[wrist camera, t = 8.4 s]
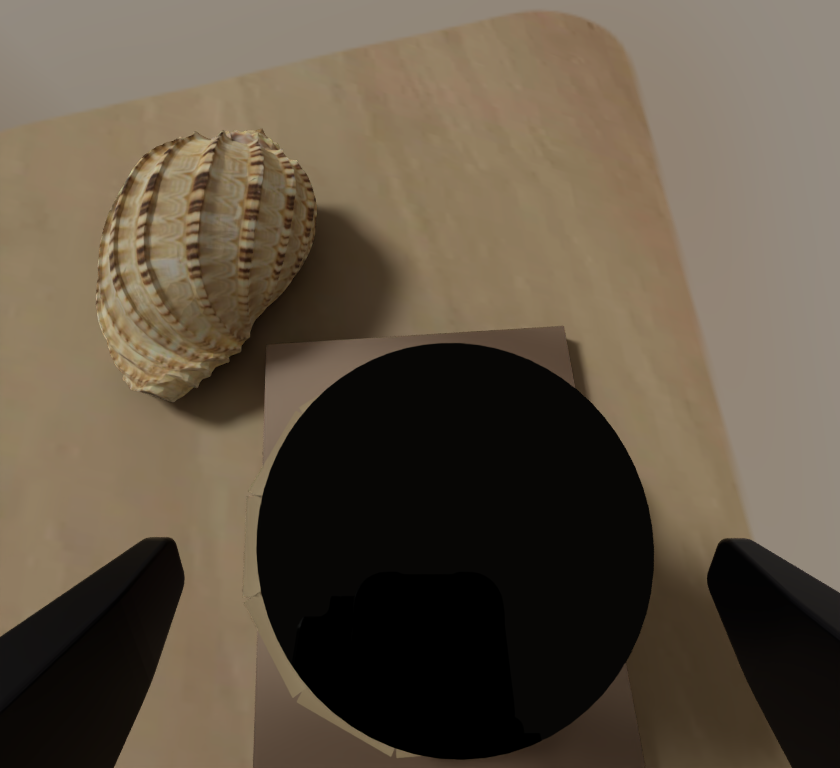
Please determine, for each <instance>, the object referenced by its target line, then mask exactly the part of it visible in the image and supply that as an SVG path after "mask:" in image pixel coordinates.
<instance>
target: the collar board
mask: <svg viewBox="0 0 840 768" xmlns="http://www.w3.org/2000/svg"><path fill="white" fill-rule="evenodd" d="M436 343H465V344H475V345H482V346H487V347H492V348H496V349H500V350H503V351H507V352H510V353H513V354H516V355H518V356H521V357H524V358H526V359H529V360H531V361H533V362H535V363H537V364H539V365H541V366H543V367H545V368H547V369H548V370H550V371H551V372H553V373H555V374H556V375H558V376H559V377H561V378H562V379H564V380H565V381H566V382H568V383H569V384H570V385H572V386H573V387H574V388H575V384H574V378H573V373H572V367H571V362H570V357H569V351H568V346H567V340H566V335H565V330H564V326H555V327H539V328H523V329H507V330H491V331H475V332H459V333H443V334H427V335H411V336H395V337H379V338H363V339H347V340H331V341H315V342H299V343H283V344H267V345H266V373H265V404H264V436H263V467H262V468H261V470H260V472H259V474H258V475H257V477H256V479H255V480H254V482H253V484H252V485H251V487H250V489H249V490H248V492H250V493H252V494H254V495H255V496H247V498H246V522H245V546H244V570H243V594H242V598H243V597H251V598H250V599H248V600H247V601H245V602H244V605H245V607H246V609H247V611H248V613H249V614H250V616H251V618H252V620H253V622H254V624H255V626H256V628H257V658H256V690H255V722H254V754H253V768H645V762H644V757H643V752H642V746H641V741H640V735H639V730H638V725H637V719H636V714H635V708H634V703H633V698H632V692H631V687H630V681H629V676H628V670H627V665H626V663H625V664H624V666H623V668H622V669H621V671H620V673H619V674H618V676H617V677H616V678H615V680H614V681H613V682H612V684H611V685H610V686H609V687H608V689H607V690H606V691H605V693H604V694H603V695H602V696H601V697H600V698H599V699H598V700H597V701H596V702H595V703H594V704H593V705H592V706H591V707H590V708H589V709H588V710H587V711H586V712H585V713H583V714H582V715H581V716H580V717H579V718H577V719H576V720H575V721H574V722H572V723H571V724H570V725H568V726H567V727H565V728H563V729H562V730H560V731H559V732H557V733H556V734H554V735H552V736H551V737H549V738H546V739H544V740H542V741H540V742H538V743H536V744H534V745H532V746H529V747H526V748H523V749H520V750H517V751H514V752H511V753H508V754H503V755H498V756H494V757H489V758H480V759H467V760H456V759H438V758H432V757H426V756H420V755H415V754H412V753H409V752H405V751H402V750H399V749H395V748H392V747H390V746H388V745H386V744H383V743H381V742H379V741H376V740H374V739H372V738H370V737H368V736H367V735H365V734H363V733H362V732H360V731H358V730H356V729H355V728H353V727H351V726H350V725H349V724H347V723H346V722H345V721H343V720H342V719H341V718H339V717H338V716H337V715H335V714H334V713H333V712H332V711H331V710H330V709H328V708H327V707H326V706H325V705H324V704H323V703H322V702H321V701H320V700H319V699H318V698H317V697H316V696H315V695H314V694H313V693H312V692H311V690H310V689H309V688H308V687H307V686H306V684H305V683H304V682H303V681H302V680H301V679H300V677H299V676H298V674H297V673H296V671H295V670H294V668H293V667H292V665H291V664H290V662H289V661H288V659H287V657H286V656H285V654H284V652H283V650H282V648H281V646H280V644H279V642H278V640H277V638H276V636H275V633H274V631H273V628H272V626H271V624H270V621H269V619H268V615H267V612H266V608H265V605H264V601H263V598H262V594H261V588H260V582H259V577H258V568H257V555H256V544H257V525H258V517H259V509H260V504H261V500H262V495H263V491H264V487H265V484H266V481H267V478H268V475H269V472H270V469H271V467H272V465H273V462H274V460H275V458H276V456H277V453H278V451H279V449H280V447H281V446H282V444H283V442H284V440H285V439H286V437H287V435H288V433H289V432H290V430H291V429H292V428H293V426H294V425H295V423H296V422H297V420H298V419H299V418H300V416H301V415H302V414H303V413H304V412H305V411H306V409H307V408H308V407H309V406H310V405H311V403H312V402H313V401H315V400H316V399H317V398H318V397H319V396H320V395H321V394H322V393H323V392H324V391H325V390H326V389H327V388H329V387H330V386H331V385H332V384H334V383H335V382H336V381H337V380H339V379H340V378H341V377H343V376H344V375H346V374H348V373H349V372H351V371H352V370H354V369H355V368H357V367H359V366H361V365H363V364H365V363H367V362H369V361H371V360H373V359H375V358H378V357H380V356H383V355H385V354H388V353H391V352H394V351H398V350H401V349H404V348H409V347H414V346H419V345H425V344H436Z"/></svg>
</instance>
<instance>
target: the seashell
mask: <svg viewBox="0 0 840 768" xmlns="http://www.w3.org/2000/svg"><path fill="white" fill-rule="evenodd" d="M316 217H317V206H316V199H315V195H314V192H313V189H312V185H311V183H310V181H309V178H308V176H307V174H306V173H305V171H304V170H303V169H302V168H301V166H300V165H299V164H298V160H289V159H288V158H287V157H286V156H285V155H284V153H283V149H280V147H279V145H278V143H273V141H272V140H271V138H268V137H266V135H265V133H264V131H263V129H259V130H256V131H248V130H246V131H245V132H239V131H237V130H234V131H233V132H231V133H230V132H228V131H226V132H225V131H224V130H222V131H221V133H220V134H219V135H218V136H216V137H214V138H212V139H208V138H206V137H204V136H202V135H200V134H199V133H198V132H196V131H195V132H194V133H193V134H192V135H191V136H189V137H186V138H183V137H179V138H178V139H176V140H174V141H171V142H166V143H164V144H163V145H160V146H157V147H155V148H154V149H152V150H151V151H149V152H148V153H147V154H145V155H144V156H143V157H142V158H141V159H140V161H139V162H138V163H137V164H136V166H135V167H134V168H133V170H132V171H131V173H130V175H129V176H128V178H127V180H126V182H125V184H124V186H123V187H122V189H121V190H120V192H119V193H118V195H117V197H116V199H115V201H114V203H113V205H112V207H111V209H110V212H109V214H108V217H107V220H106V223H105V226H104V229H103V233H102V238H101V243H100V249H99V259H98V280H97V290H96V308H97V315H98V321H99V324H100V327H101V330H102V333H103V335H104V337H105V338H106V340H107V344H108V348H109V351H110V354H111V356H112V358H113V361H114V364H115V365H116V367H117V368H118V369H119V370H120V371H121V372H122V373H123V380H124V381H125V382H126V383H127V384H128V386H129V388H130V389H131V390H135V391H139V392H142V393H145V394H149V395H152V396H155V397H158V398H161V399H164V400H167V401H170V402H175V401H176V400H177V399H179V398H181V397H183V396H184V395H185V394H187V393H188V392H189V391H190V390H191V389H192V388H198V386H199V383H200V382H201V380H202V379H204V378H208V377H210V376H211V373H212V371H213V370H214V369H215V367H217V366H220V365H222V364H225V363H228V362H229V357H230V356H231V355H234V354H237V353H240V352H241V347H242V345H243V343H244V342H245V341H246V340H247V339H249V338H250V331H251V329H252V326H253V324H254V322H255V320H256V319H257V318H258V317H259V316H260V315H261V314H262V313H263V312H264V311H265V309H266V308H267V307H268V306H269V305H270V304H271V303H273V302H274V301H275V300H276V299H277V298H278V297H279V296H280V295H281V294H282V293H283V292H284V290H285V289H286V288H287V287H288V285H289V284H290V283H291V281H292V279H293V278H294V277H295V275H296V274H297V273H298V272H299V270H300V269H301V267H302V265H303V264H304V262H305V260H306V258H307V256H308V254H309V252H310V250H311V247H312V244H313V242H314V237H315V228H316Z"/></svg>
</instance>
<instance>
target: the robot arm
mask: <svg viewBox="0 0 840 768" xmlns="http://www.w3.org/2000/svg"><path fill="white" fill-rule="evenodd" d="M707 584H708V588H709V591H710V593H711V596H712V598H713V601H714V603H715V606H716V608H717V610H718V613H719V615H720V618H721V620H722V622H723V625H724V627H725V630H726V632H727V635H728V637H729V639H730V642H731V644H732V647H733V649H734V652H735V654H736V656H737V659H738V661H739V664H740V666H741V668H742V671H743V673H744V675H745V677H746V680H747V682H748V684H749V686H750V688H751V690H752V692H753V694H754V696H755V698H756V700H757V702H758V704H759V706H760V708H761V710H762V711H763V713H764V715H765V717H766V719H767V721H768V723H769V725H770V727H771V729H772V731H773V732H774V734H775V736H776V738H777V740H778V742H779V744H780V746H781V748H782V750H783V751H784V753H785V755H786V757H787V759H788V761H789V763H790V765H791V767H792V768H840V593H839V592H837V591H836V590H834V589H832V588H831V587H829V586H827V585H826V584H824V583H822V582H821V581H819V580H817V579H816V578H814V577H812V576H811V575H809V574H807V573H806V572H804V571H802V570H801V569H799V568H797V567H796V566H794V565H792V564H791V563H789V562H787V561H786V560H784V559H782V558H781V557H779V556H777V555H776V554H774V553H772V552H771V551H769V550H767V549H765V548H764V547H762V546H761V545H759V544H757V543H756V542H754V541H752V540H750V539H745V538H726V539H723V540H721V541H720V542H719V544H718V546H717V548H716V551H715V554H714V557H713V560H712V562H711V565H710V568H709V571H708V574H707ZM183 587H184V571H183V567H182V563H181V560H180V556H179V552H178V549H177V545H176V543H175V541H174V540H173V539H172V538H169V537H150V538H146V539H144V540H142V541H140V542H139V543H137V544H136V545H134V546H133V547H131V548H130V549H128V550H127V551H125V552H124V553H123V554H121V555H120V556H118V557H117V558H115V559H114V560H112V561H111V562H109V563H108V564H106V565H105V566H103V567H102V568H101V569H99V570H98V571H96V572H95V573H93V574H92V575H90V576H89V577H87V578H86V579H84V580H83V581H81V582H80V583H79V584H77V585H76V586H74V587H73V588H71V589H70V590H68V591H67V592H65V593H64V594H62V595H61V596H59V597H58V598H57V599H55V600H54V601H52V602H51V603H49V604H48V605H46V606H45V607H43V608H42V609H40V610H39V611H37V612H36V613H35V614H33V615H32V616H30V617H29V618H27V619H26V620H24V621H23V622H21V623H20V624H18V625H17V626H15V627H14V628H13V629H11V630H10V631H8V632H7V633H5V634H4V635H2V636H1V637H0V768H114V766H115V764H116V762H117V759H118V757H119V755H120V753H121V750H122V748H123V746H124V744H125V741H126V739H127V737H128V735H129V732H130V730H131V728H132V726H133V724H134V721H135V719H136V717H137V715H138V712H139V710H140V708H141V706H142V703H143V701H144V699H145V696H146V694H147V692H148V689H149V687H150V685H151V682H152V679H153V676H154V674H155V671H156V668H157V665H158V662H159V659H160V656H161V653H162V650H163V647H164V644H165V641H166V638H167V635H168V632H169V629H170V626H171V623H172V620H173V617H174V614H175V611H176V608H177V605H178V602H179V599H180V596H181V593H182V590H183Z"/></svg>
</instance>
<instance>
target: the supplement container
mask: <svg viewBox="0 0 840 768" xmlns="http://www.w3.org/2000/svg"><path fill="white" fill-rule="evenodd" d="M256 555H257V568H258V577H259V582H260V588H261V594H262V598H263V601H264V605H265V608H266V612H267V615H268V619H269V621H270V624H271V626H272V628H273V631H274V633H275V636H276V638H277V640H278V642H279V644H280V646H281V648H282V650H283V652H284V654H285V656H286V657H287V659H288V661H289V662H290V664H291V665H292V667H293V668H294V670H295V671H296V673H297V674H298V676H299V677H300V679H301V680H302V681H303V682H304V683H305V684H306V686H307V687H308V688H309V689H310V690H311V692H312V693H313V694H314V695H315V696H316V697H317V698H318V699H319V700H320V701H321V702H322V703H323V704H324V705H325V706H326V707H327V708H328V709H330V710H331V711H332V712H333V713H334V714H335V715H337V716H338V717H339V718H341V719H342V720H343V721H345V722H346V723H347V724H349V725H350V726H351V727H353V728H355V729H356V730H358V731H360V732H362V733H363V734H365V735H367V736H368V737H370V738H372V739H374V740H376V741H379V742H381V743H383V744H386V745H388V746H390V747H392V748H395V749H399V750H402V751H405V752H409V753H412V754H415V755H420V756H426V757H432V758H438V759H456V760H467V759H480V758H489V757H494V756H498V755H503V754H508V753H511V752H514V751H517V750H520V749H523V748H526V747H529V746H532V745H534V744H536V743H538V742H540V741H542V740H544V739H546V738H549V737H551V736H552V735H554V734H556V733H557V732H559V731H560V730H562V729H563V728H565V727H567V726H568V725H570V724H571V723H572V722H574V721H575V720H576V719H577V718H579V717H580V716H581V715H582V714H583V713H585V712H586V711H587V710H588V709H589V708H590V707H591V706H592V705H593V704H594V703H595V702H596V701H597V700H598V699H599V698H600V697H601V696H602V695H603V694H604V693H605V691H606V690H607V689H608V687H609V686H610V685H611V684H612V682H613V681H614V680H615V678H616V677H617V676H618V674H619V673H620V671H621V669H622V668H623V666H624V664H625V663H626V661H627V659H628V658H629V656H630V654H631V652H632V649H633V647H634V645H635V643H636V641H637V639H638V636H639V634H640V631H641V628H642V625H643V622H644V619H645V616H646V613H647V608H648V604H649V599H650V595H651V588H652V580H653V571H654V544H653V532H652V524H651V519H650V513H649V508H648V504H647V500H646V497H645V493H644V490H643V486H642V484H641V481H640V478H639V476H638V473H637V471H636V468H635V466H634V464H633V462H632V460H631V458H630V456H629V454H628V452H627V450H626V448H625V447H624V445H623V443H622V442H621V440H620V438H619V437H618V435H617V434H616V432H615V431H614V429H613V428H612V427H611V425H610V424H609V423H608V421H607V420H606V419H605V417H604V416H603V415H602V414H601V413H600V412H599V411H598V410H597V409H596V407H595V406H594V405H593V404H592V403H591V402H590V401H589V400H588V399H587V398H586V397H584V396H583V395H582V394H581V393H580V392H579V391H578V390H577V389H576V388H574V387H573V386H572V385H570V384H569V383H568V382H566V381H565V380H564V379H562V378H561V377H559V376H558V375H556V374H555V373H553V372H551V371H550V370H548V369H547V368H545V367H543V366H541V365H539V364H537V363H535V362H533V361H531V360H529V359H526V358H524V357H521V356H518V355H516V354H513V353H510V352H507V351H503V350H500V349H496V348H492V347H487V346H482V345H475V344H465V343H436V344H425V345H419V346H414V347H409V348H404V349H401V350H398V351H394V352H391V353H388V354H385V355H383V356H380V357H378V358H375V359H373V360H371V361H369V362H367V363H365V364H363V365H361V366H359V367H357V368H355V369H354V370H352V371H351V372H349V373H348V374H346V375H344V376H343V377H341V378H340V379H339V380H337V381H336V382H335V383H334V384H332V385H331V386H330V387H329V388H327V389H326V390H325V391H324V392H323V393H322V394H321V395H320V396H319V397H318V398H317V399H316V400H315V401H313V402H312V403H311V405H310V406H309V407H308V408H307V409H306V411H305V412H304V413H303V414H302V415H301V416H300V418H299V419H298V420H297V422H296V423H295V425H294V426H293V428H292V429H291V430H290V432H289V433H288V435H287V437H286V439H285V440H284V442H283V444H282V446H281V447H280V449H279V451H278V453H277V456H276V458H275V460H274V462H273V465H272V467H271V469H270V472H269V475H268V478H267V481H266V484H265V487H264V491H263V495H262V500H261V504H260V509H259V517H258V525H257V544H256Z"/></svg>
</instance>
